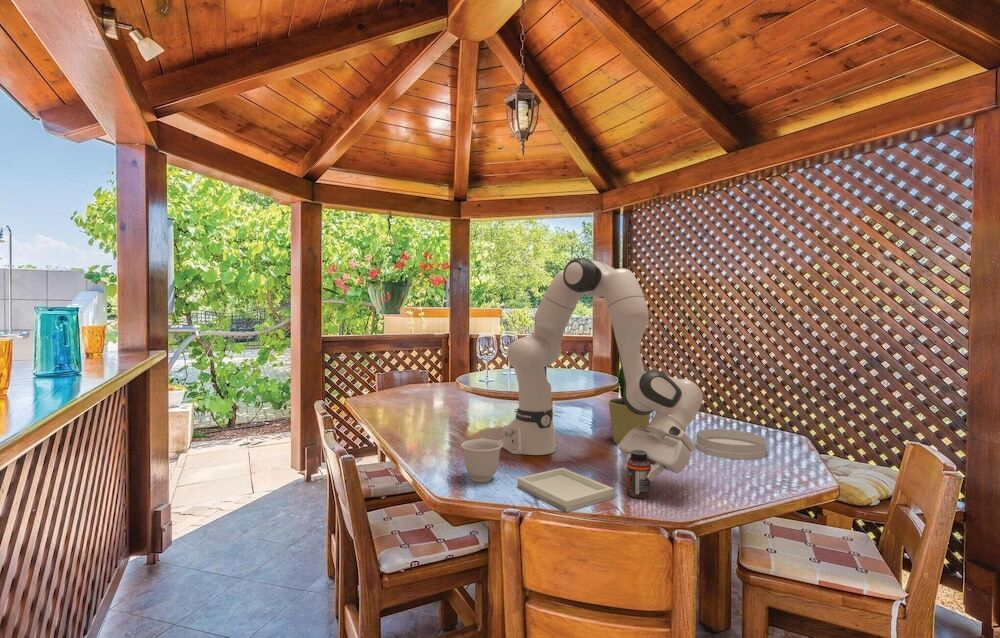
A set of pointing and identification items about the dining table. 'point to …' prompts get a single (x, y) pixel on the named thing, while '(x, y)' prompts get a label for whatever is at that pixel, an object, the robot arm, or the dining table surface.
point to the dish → (731, 444)
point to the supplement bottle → (638, 475)
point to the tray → (565, 489)
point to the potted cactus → (624, 415)
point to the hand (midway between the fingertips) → (637, 474)
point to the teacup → (481, 458)
